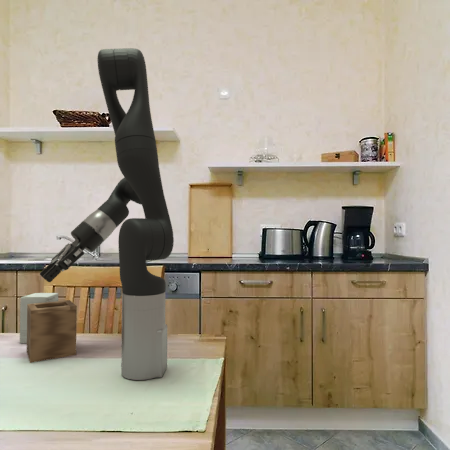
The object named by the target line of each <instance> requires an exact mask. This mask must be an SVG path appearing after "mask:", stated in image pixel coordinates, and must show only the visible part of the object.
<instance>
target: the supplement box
mask: <svg viewBox="0 0 450 450" xmlns="http://www.w3.org/2000/svg"><path fill="white" fill-rule="evenodd" d="M55 301H59V292H34V293H31V294H28V295H24V296H21V297H20V304H19V305H20V313H19V314H20V315H19V344H27V304H33V303H44V302H55Z"/></svg>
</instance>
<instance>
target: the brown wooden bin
mask: <svg viewBox="0 0 450 450" xmlns="http://www.w3.org/2000/svg"><path fill="white" fill-rule="evenodd" d="M77 310H78V309H77V305H76V304H75V303H74V302H73V301H72V300H70V299H67V300H65V299H64V300H58V301H55V302H44V303H33V304H27V343H26V353H27V356H28V360H29V364H32V363H38V362H42V361H48V360H56V359H60V358H66V357H71V356H73V357H74V356H77V320H78V319H77V313H78V312H77Z"/></svg>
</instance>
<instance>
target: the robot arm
mask: <svg viewBox="0 0 450 450" xmlns="http://www.w3.org/2000/svg"><path fill="white" fill-rule="evenodd" d="M97 70H98V76H99V80H100V84H101V88H102V91H103V95H104V99H105V100H104V101H105V104H106V109H107V112H108V114H109V118H110V122H111V124H112V129H113V131H114V135H115V137H114V145H115V152H116V153H115V154H116V162H117V165H118V168H119V170H120V172H121V174H122V176H123V178H122V179H120V180H119V181H118V183H117V184H116V186H115V187H114V189H112V192H111V193H110V194H109V197H108V199H107V200H105V201H104V202H103V203H102V204H101V205H100V206H99V207H98V208H97V209H96V210H94V211H92V212H91V213H90V214H89V215H87V216H86V218H84V220H82V221H81V222H80V223H79V224H78V225H76V226H75V228H74V229H73V230H72V231H71V232H70V235H71V237H72V238H73V239H74V241H73V242H72V243H70V242H69V243H67V244H65V246H64V247H62V249H60V251H58V252H57V254H56V255H54V257H52V258H51V260H50V263H49V264H48V265H47V266H46V267H45V268H44V269H42V270H41V272H39V275H40V276H41V277H42V278H43V279H44V280H45V281H46V282H48V283H51V282H53V280H55V279H56V278H57V276H59V275H60V274H61V273H62V272H64V271H67V270H69V268H70V267H72V266H73V265H74V264H75V263H76V262H77V261H78V260H79V259H80V258H81V257H83V256H84V255H85V252H84V250H86V251H88V252H89V253H93V252H95V251H96V250H97V249H98V247H100V246H101V245H102V244H103V243H104V242H105V241H106V240H107V239H108V238H109V236H111V235H112V233H114V232H115V230H116V228H118V227H119V226H120V225H121V226H120V228H119V233H118V240H117V241H118V258H119V259H118V262H119V280H120V283H121V362H120V363H121V365H120V367H121V376H122V377H123V378H125V379H127V380H135V381H143V380H151V379H155V378H162V377H163V375H164V374H165V372H166V370H167V368H168V324H166V280H165V278H163V277H161V276H157V275H155V274H153V273H151V272H150V271H149V270H148V267H147V261H159V260H165V259H167V258H169V256H170V255H171V253H172V252H173V250H174V249H173V248H174V242H175V239H174V231H173V230H174V229H173V225H172V221H171V217H170V214H169V209H168V205H167V201H166V197H165V194H164V189H163V187H164V186H163V181H162V177H161V172H160V166H159V165H160V163H159V162H160V161H159V155H158V148H157V147H158V146H157V141H156V135H155V130H154V125H153V120H152V113H151V108H150V107H151V106H150V96H149V95H150V94H149V84H148V82H149V81H148V71H147V66H146V61H145V57H144V54H143V51H141V50H140V49H138V48H131V47H130V48H128V47H127V48H104V49H103V48H101V49H100V50H99V51H98V53H97ZM131 90H133V91H134V93H133V96H132V100H131V104H130V106H129V107H128V110H127V112H125V110H124V108H123V107H122V105H121V103H120V101H119V97H118V94H117V91H131ZM129 202H134V203H136V204H138V205H141V206H142V210H143V213H144V214H143V215H144V218H143V217H142V218H140V217H138V218H137V217H134V218H133V217H132V218H128V219H126V218H127V217H129V214H130V210H129V207H128V206H127V205H128V204H129Z"/></svg>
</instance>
